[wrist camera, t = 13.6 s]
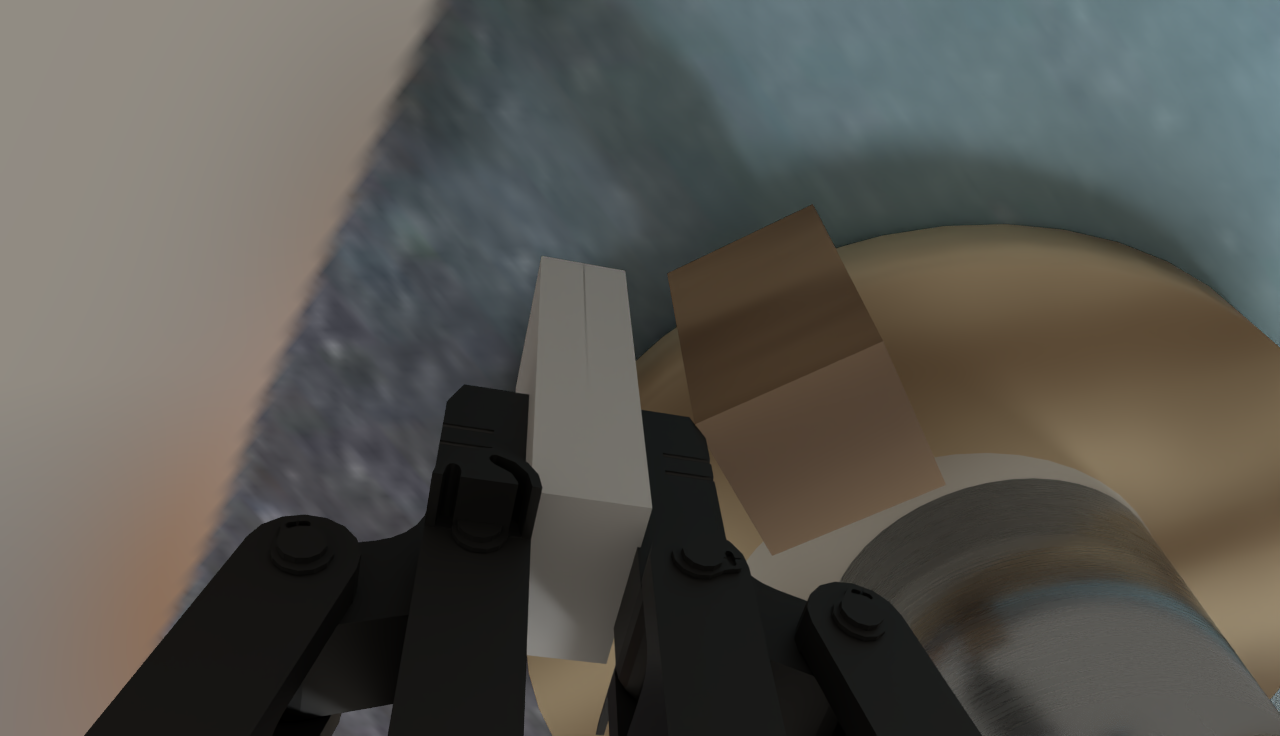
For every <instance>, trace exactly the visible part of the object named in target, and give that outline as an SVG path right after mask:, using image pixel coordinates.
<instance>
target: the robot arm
mask: <svg viewBox="0 0 1280 736" xmlns="http://www.w3.org/2000/svg"><path fill="white" fill-rule="evenodd" d="M713 478H714V476H713V471H712V466H711V464H710V456H709V451H708V446H707V441H706V438H705V436H704V435H703V434H702V433H701V431H700V430H699V429H698V428H697V426H695V424H694V422H693V421H692V420H691V419H690V417H685V416H679V415H673V414H666V413H660V412H653V411H647V410H641V405H640V396H639V387H638V379H637V370H636V361H635V352H634V344H633V335H632V326H631V317H630V309H629V300H628V291H627V282H626V274H625V271H624V270H618V269H613V268H607V267H601V266H596V265H590V264H585V263H579V262H573V261H568V260H562V259H557V258H551V257H545V256H541V261H540V266H539V272H538V277H537V282H536V287H535V292H534V297H533V302H532V307H531V313H530V318H529V323H528V328H527V333H526V338H525V343H524V348H523V353H522V359H521V364H520V369H519V374H518V379H517V384H516V392H509V391H503V390H497V389H490V388H484V387H477V386H471V385H463V386H462V387H461V388H460V389H459V390H458V391H457V392H456V393H455V394H454V395H453V396H452V397H451V398H450V399H449V400H448V401H447V405H446V410H445V416H444V422H443V427H442V433H441V438H440V444H439V450H438V455H437V461H436V467H435V469H434V471H433V473H432V479H431V485H430V492H429V498H428V505H427V511H426V514H425V516H424V517H423V518H422V519H421V521H420V522H419V523H418V524H417V525H416V526H414V527H413V528H411V529H410V530H408V531H407V532H405V533H402V534H400V535H397V536H395V537H392V538H387V539H382V540H377V541H369V542H359V543H358V541H357V538H356V537H355V536H354V535H353V534H352V533H351V532H350V531H349V530H348V529H347V528H346V527H345V526H343V525H340V524H338V523H336V522H334V521H332V520H330V519H327V518H323V517H316V516H310V515H296V516H285V517H280V518H277V519H275V520H272V521H269V522H267V523H264V524H262V525H260V526H259V527H258V528H257V529H255V530H254V531H253V532H252V533H250V534H249V535H248V536H247V537H246V538H245V539H244V541H243V542H242V543H241V544H240V546H239V547H238V548H237V549H236V550H235V552H234V553H233V554H232V555H231V557H230V558H229V559H228V560H227V561H226V563H225V564H224V565H223V566H222V568H221V569H220V570H219V571H218V572H217V574H216V575H215V576H214V577H213V579H212V580H211V581H210V582H209V583H208V585H207V586H206V587H205V588H204V590H203V591H202V592H201V593H200V595H199V596H198V597H197V598H196V599H195V601H194V602H193V603H192V604H191V606H190V607H189V608H188V609H187V610H186V612H185V613H184V614H183V615H182V617H181V618H180V619H179V620H178V621H177V623H176V624H175V625H174V626H173V628H172V629H171V630H170V631H169V632H168V634H167V635H166V636H165V637H164V639H163V640H162V641H161V642H160V643H159V645H158V646H157V647H156V648H155V650H154V651H153V652H152V653H151V654H150V656H149V657H148V658H147V659H146V661H145V662H144V663H143V664H142V665H141V667H140V668H139V669H138V670H137V672H136V673H135V674H134V675H133V677H132V678H131V679H130V680H129V681H128V683H127V684H126V685H125V686H124V688H123V689H122V690H121V691H120V693H119V694H118V695H117V696H116V698H115V699H114V700H113V701H112V702H111V704H110V705H109V706H108V707H107V708H106V710H105V711H104V712H103V713H102V714H101V716H100V717H99V718H98V719H97V721H96V722H95V723H94V724H93V725H92V727H91V728H90V729H89V730H88V732H87V733H86V734H85V735H84V736H332V734H333V732H334V731H335V729H336V727H337V725H338V723H339V720H340V717H341V713H344V712H350V711H355V710H361V709H367V708H372V707H378V706H384V705H389V704H393V708H392V714H391V720H390V726H389V731H388V736H524V711H525V684H526V658H527V655H530V656H539V657H548V658H556V659H565V660H574V661H583V662H592V663H601V664H606V663H607V660H608V657H609V653H610V650H611V646H612V643H613V640H614V644H615V662H616V665H615V668H614V671H613V675H612V678H611V681H610V685H609V688H608V691H607V694H606V698H605V701H604V704H603V708H602V711H601V714H600V718H599V721H598V726H597V730H596V735H603V736H604V733H605V730H606V727H607V724H608V722H609V736H982V735H981V733H980V732H979V730H978V729H977V727H976V726H975V724H974V723H973V721H972V720H971V718H970V717H969V715H968V714H967V712H966V711H965V709H964V708H963V706H962V705H961V703H960V702H959V700H958V699H957V697H956V696H955V694H954V693H953V691H952V690H951V688H950V687H949V685H948V684H947V682H946V681H945V679H944V678H943V676H942V675H941V673H940V672H939V670H938V669H937V667H936V666H935V664H934V663H933V661H932V660H931V658H930V657H929V655H928V654H927V652H926V651H925V649H924V648H923V646H922V645H921V643H920V642H919V640H918V639H917V637H916V636H915V634H914V633H913V631H912V630H911V628H910V627H909V625H908V624H907V622H906V621H905V619H904V618H903V616H902V615H901V614H900V613H899V612H898V611H897V610H896V609H895V607H894V606H893V605H892V604H891V603H890V602H889V601H887V600H886V599H884V598H883V597H881V596H880V595H878V594H877V593H875V592H874V591H872V590H870V589H867V588H864V587H861V586H859V585H856V584H853V583H844V582H831V583H827V584H823V585H819V586H818V587H817V588H816V589H815V590H814V591H813V592H812V593H811V594H810V595H809V598H808V600H807V601H806V600H803V599H801V598H798V597H795V596H793V595H790V594H787V593H785V592H782V591H779V590H777V589H774V588H772V587H770V586H768V585H766V584H764V583H762V582H760V581H759V580H757V579H756V578H754V577H753V576H751V573H750V568H749V566H748V564H747V562H746V560H745V557H744V555H743V554H742V553H741V552H740V551H739V550H738V549H737V548H736V547H735V546H734V545H733V544H732V543H731V542H730V541H728V540H726V535H725V530H724V525H723V520H722V515H721V510H720V506H719V501H718V496H717V491H716V486H715V482H714V481H713Z"/></svg>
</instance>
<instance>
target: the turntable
mask: <svg viewBox="0 0 1280 736" xmlns="http://www.w3.org/2000/svg"><path fill="white" fill-rule="evenodd" d="M667 275H668V281H669V286H670V292H671V297H672V303H673V308H674V314H675V319H676V325H677V327H676V328H675V329H673V330H672V331H671V332H669V333H668V334H666V335H665V336H663V337H662V338H661V339H660V340H659V341H658V342H656V343H655V344H654V345H653V346H652V347H651V348H650V349H649V350H648V351H646V352H645V353H644V354H643V355H642V356H641V357H640V358H639V359H638V360H636V370H637V379H638V387H639V396H640V405H641V410H647V411H653V412H660V413H666V414H673V415H679V416H685V417H690V419H691V420H692V421H693V422H694V424H695V426H697V428H698V429H699V430H700V431H701V433H702V434H703V435H704V436H705V438H706V441H707V446H708V451H709V456H710V464H711V466H712V471H713V476H714V478H713V481H714V482H715V486H716V491H717V496H718V501H719V506H720V510H721V515H722V520H723V525H724V530H725V535H726V540H728V541H730V542H731V543H732V544H733V545H734V546H735V547H736V548H737V549H738V550H739V551H740V552H741V553H742V554H743V555H744V557H745V560H746V562H747V564H748V566H749V568H750V573H751V576H753V577H754V578H756V579H757V580H759V581H760V582H762V583H764V584H766V585H768V586H770V587H772V588H774V589H777V590H779V591H782V592H785V593H787V594H790V595H793V596H795V597H798V598H801V599H803V600H806V601H807V600H808V598H809V595H810V594H811V593H812V592H813V591H814V590H815V589H816V588H817V587H818V586H819V585H823V584H827V583H831V582H840V580H841V577H842V576H843V574H844V573H845V571H846V570H847V568H848V567H849V565H850V564H851V562H852V561H853V560H854V559H855V558H856V556H857V555H858V554H859V553H860V552H861V551H862V550H863V548H864V547H865V546H866V545H867V544H868V543H869V542H870V541H872V540H873V539H874V538H875V537H876V536H877V535H878V534H879V533H880V532H882V531H883V530H884V529H886V528H887V527H888V526H890V525H891V524H892V523H894V522H895V521H897V520H898V519H899V518H901V517H903V516H904V515H906V514H908V513H909V512H911V511H913V510H915V509H916V508H918V507H920V506H922V505H924V504H926V503H928V502H930V501H933V500H935V499H937V498H939V497H941V496H944V495H947V494H950V493H953V492H956V491H958V490H961V489H964V488H968V487H972V486H976V485H980V484H984V483H989V482H996V481H1003V480H1010V479H1030V478H1038V479H1053V480H1061V481H1066V482H1072V483H1077V484H1080V485H1084V486H1087V487H1090V488H1093V489H1096V490H1098V491H1100V492H1102V493H1104V494H1107V495H1109V496H1111V497H1113V498H1114V499H1116V500H1117V501H1119V502H1120V503H1122V504H1123V505H1124V506H1126V507H1127V508H1129V509H1130V510H1131V511H1132V512H1133V513H1134V514H1135V515H1136V516H1137V517H1138V518H1139V520H1140V521H1141V522H1142V523H1143V525H1144V526H1145V528H1146V529H1147V530H1148V532H1149V533H1150V534H1151V536H1152V537H1153V539H1154V540H1155V541H1156V543H1157V544H1158V546H1159V547H1160V548H1161V550H1162V551H1163V553H1164V554H1165V555H1166V557H1167V558H1168V559H1169V561H1170V562H1171V564H1172V565H1173V566H1174V568H1175V569H1176V571H1177V572H1178V573H1179V575H1180V576H1181V577H1182V579H1183V580H1184V582H1185V583H1186V584H1187V586H1188V587H1189V589H1190V590H1191V591H1192V593H1193V594H1194V595H1195V597H1196V598H1197V600H1198V601H1199V602H1200V604H1201V605H1202V607H1203V608H1204V609H1205V611H1206V612H1207V614H1208V615H1209V616H1210V618H1211V619H1212V620H1213V622H1214V623H1215V625H1216V626H1217V627H1218V629H1219V630H1220V632H1221V633H1222V634H1223V636H1224V637H1225V638H1226V640H1227V641H1228V643H1229V644H1230V645H1231V647H1232V648H1233V650H1234V651H1235V652H1236V654H1237V655H1238V656H1239V658H1240V659H1241V661H1242V662H1243V663H1244V665H1245V666H1246V668H1247V669H1248V670H1249V672H1250V673H1251V674H1252V676H1253V677H1254V679H1255V680H1256V681H1257V683H1258V684H1259V686H1260V687H1261V688H1262V690H1263V691H1264V693H1265V694H1266V695H1267V697H1268V698H1269V699H1271V698H1272V697H1273V695H1274V694H1275V693H1276V692H1277V691H1278V689H1279V688H1280V347H1279V346H1277V345H1276V344H1275V343H1274V342H1273V341H1272V340H1271V339H1269V338H1268V337H1267V336H1266V335H1265V334H1264V333H1262V332H1261V331H1260V330H1259V329H1258V328H1257V327H1256V326H1254V325H1253V324H1252V323H1251V322H1250V321H1249V320H1248V319H1246V318H1245V317H1244V316H1243V315H1242V314H1241V313H1240V312H1238V311H1237V310H1236V309H1235V308H1234V307H1233V306H1231V305H1230V304H1229V303H1228V302H1227V301H1226V300H1224V299H1223V298H1222V297H1221V296H1220V295H1219V294H1217V293H1216V292H1215V291H1214V290H1213V289H1212V288H1210V287H1209V286H1208V285H1206V284H1204V283H1203V282H1201V281H1199V280H1198V279H1196V278H1194V277H1193V276H1191V275H1189V274H1187V273H1186V272H1184V271H1182V270H1181V269H1179V268H1177V267H1176V266H1174V265H1172V264H1171V263H1169V262H1167V261H1165V260H1162V259H1160V258H1157V257H1155V256H1152V255H1150V254H1147V253H1144V252H1142V251H1139V250H1137V249H1134V248H1132V247H1129V246H1127V245H1124V244H1122V243H1119V242H1115V241H1111V240H1107V239H1102V238H1098V237H1094V236H1090V235H1085V234H1081V233H1077V232H1072V231H1068V230H1064V229H1053V228H1042V227H1032V226H1021V225H1010V224H991V225H960V226H941V227H934V228H928V229H921V230H915V231H908V232H902V233H895V234H889V235H882V236H878V237H875V238H871V239H867V240H864V241H860V242H856V243H853V244H849V245H845V246H842V247H838V248H835V246H834V244H833V242H832V240H831V239H830V237H829V235H828V233H827V231H826V229H825V227H824V225H823V223H822V221H821V219H820V217H819V215H818V213H817V211H816V209H815V207H814V205H813V204H812V205H810V206H808V207H806V208H804V209H802V210H799V211H797V212H795V213H793V214H791V215H789V216H787V217H785V218H783V219H781V220H778V221H776V222H774V223H772V224H770V225H768V226H766V227H764V228H762V229H760V230H757V231H755V232H753V233H751V234H749V235H747V236H745V237H743V238H741V239H739V240H737V241H734V242H732V243H730V244H728V245H726V246H724V247H722V248H720V249H718V250H716V251H713V252H711V253H709V254H707V255H705V256H703V257H701V258H699V259H697V260H695V261H692V262H690V263H688V264H686V265H684V266H682V267H680V268H678V269H676V270H674V271H671V272H669V273H667ZM527 659H528V670H529V676H530V679H531V682H532V686H533V689H534V693H535V696H536V700H537V703H538V707H539V709H540V711H541V713H542V715H543V717H544V719H545V722H546V724H547V726H548V728H549V730H550V732H551V734H552V736H603V735H596V730H597V726H598V721H599V718H600V714H601V711H602V708H603V704H604V701H605V698H606V694H607V691H608V688H609V685H610V681H611V678H612V675H613V671H614V668H615V665H616V662H615V644H614V640H613V643H612V646H611V650H610V653H609V657H608V660H607V663H606V664H601V663H592V662H583V661H574V660H565V659H556V658H548V657H539V656H530V655H527ZM604 736H609V722H608V724H607V727H606V730H605V733H604Z"/></svg>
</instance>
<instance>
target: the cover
mask: <svg viewBox="0 0 1280 736" xmlns="http://www.w3.org/2000/svg"><path fill="white" fill-rule="evenodd" d="M840 582H844V583H853V584H856V585H859V586H861V587H864V588H867V589H870V590H872V591H874V592H875V593H877V594H878V595H880V596H881V597H883V598H884V599H886V600H887V601H889V602H890V603H891V604H892V605H893V606H894V607H895V609H896V610H897V611H898V612H899V613H900V614H901V615H902V616H903V618H904V619H905V621H906V622H907V624H908V625H909V627H910V628H911V630H912V631H913V633H914V634H915V636H916V637H917V639H918V640H919V642H920V643H921V645H922V646H923V648H924V649H925V651H926V652H927V654H928V655H929V657H930V658H931V660H932V661H933V663H934V664H935V666H936V667H937V669H938V670H939V672H940V673H941V675H942V676H943V678H944V679H945V681H946V682H947V684H948V685H949V687H950V688H951V690H952V691H953V693H954V694H955V696H956V697H957V699H958V700H959V702H960V703H961V705H962V706H963V708H964V709H965V711H966V712H967V714H968V715H969V717H970V718H971V720H972V721H973V723H974V724H975V726H976V727H977V729H978V730H979V732H980V733H981V735H982V736H1280V713H1279V712H1278V711H1277V709H1276V708H1275V706H1274V705H1273V704H1272V702H1271V701H1270V699H1269V698H1268V697H1267V695H1266V694H1265V693H1264V691H1263V690H1262V688H1261V687H1260V686H1259V684H1258V683H1257V681H1256V680H1255V679H1254V677H1253V676H1252V674H1251V673H1250V672H1249V670H1248V669H1247V668H1246V666H1245V665H1244V663H1243V662H1242V661H1241V659H1240V658H1239V656H1238V655H1237V654H1236V652H1235V651H1234V650H1233V648H1232V647H1231V645H1230V644H1229V643H1228V641H1227V640H1226V638H1225V637H1224V636H1223V634H1222V633H1221V632H1220V630H1219V629H1218V627H1217V626H1216V625H1215V623H1214V622H1213V620H1212V619H1211V618H1210V616H1209V615H1208V614H1207V612H1206V611H1205V609H1204V608H1203V607H1202V605H1201V604H1200V602H1199V601H1198V600H1197V598H1196V597H1195V595H1194V594H1193V593H1192V591H1191V590H1190V589H1189V587H1188V586H1187V584H1186V583H1185V582H1184V580H1183V579H1182V577H1181V576H1180V575H1179V573H1178V572H1177V571H1176V569H1175V568H1174V566H1173V565H1172V564H1171V562H1170V561H1169V559H1168V558H1167V557H1166V555H1165V554H1164V553H1163V551H1162V550H1161V548H1160V547H1159V546H1158V544H1157V543H1156V541H1155V540H1154V539H1153V537H1152V536H1151V534H1150V533H1149V532H1148V530H1147V529H1146V528H1145V526H1144V525H1143V523H1142V522H1141V521H1140V520H1139V518H1138V517H1137V516H1136V515H1135V514H1134V513H1133V512H1132V511H1131V510H1130V509H1129V508H1127V507H1126V506H1124V505H1123V504H1122V503H1120V502H1119V501H1117V500H1116V499H1114V498H1113V497H1111V496H1109V495H1107V494H1104V493H1102V492H1100V491H1098V490H1096V489H1093V488H1090V487H1087V486H1084V485H1080V484H1077V483H1072V482H1066V481H1061V480H1053V479H1038V478H1030V479H1010V480H1003V481H996V482H989V483H984V484H980V485H976V486H972V487H968V488H964V489H961V490H958V491H956V492H953V493H950V494H947V495H944V496H941V497H939V498H937V499H935V500H933V501H930V502H928V503H926V504H924V505H922V506H920V507H918V508H916V509H915V510H913V511H911V512H909V513H908V514H906V515H904V516H903V517H901V518H899V519H898V520H897V521H895V522H894V523H892V524H891V525H890V526H888V527H887V528H886V529H884V530H883V531H882V532H880V533H879V534H878V535H877V536H876V537H875V538H874V539H873V540H872V541H870V542H869V543H868V544H867V545H866V546H865V547H864V548H863V550H862V551H861V552H860V553H859V554H858V555H857V556H856V558H855V559H854V560H853V561H852V562H851V564H850V565H849V567H848V568H847V570H846V571H845V573H844V574H843V576H842V577H841V580H840Z"/></svg>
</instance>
